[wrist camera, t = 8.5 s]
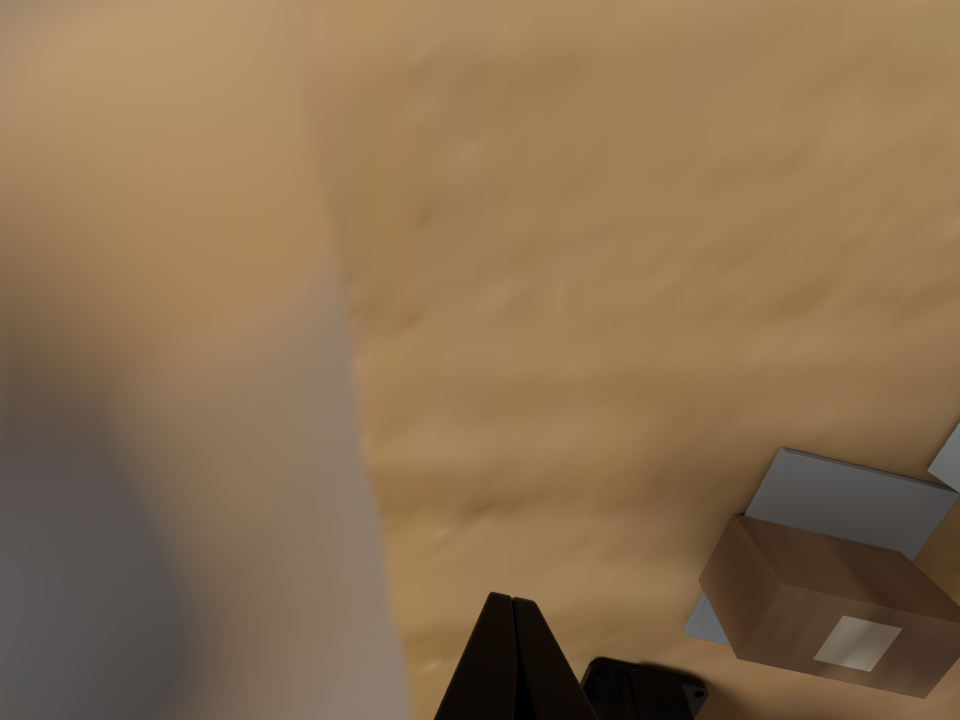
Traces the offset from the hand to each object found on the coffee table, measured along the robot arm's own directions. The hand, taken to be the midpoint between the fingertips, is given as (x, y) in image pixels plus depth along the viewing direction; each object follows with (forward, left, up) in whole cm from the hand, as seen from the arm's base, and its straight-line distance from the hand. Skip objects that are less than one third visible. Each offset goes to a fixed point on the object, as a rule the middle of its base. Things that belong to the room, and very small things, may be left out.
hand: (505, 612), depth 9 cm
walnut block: (-6, -12, -10) cm, 16 cm away
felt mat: (-6, -16, -12) cm, 21 cm away
